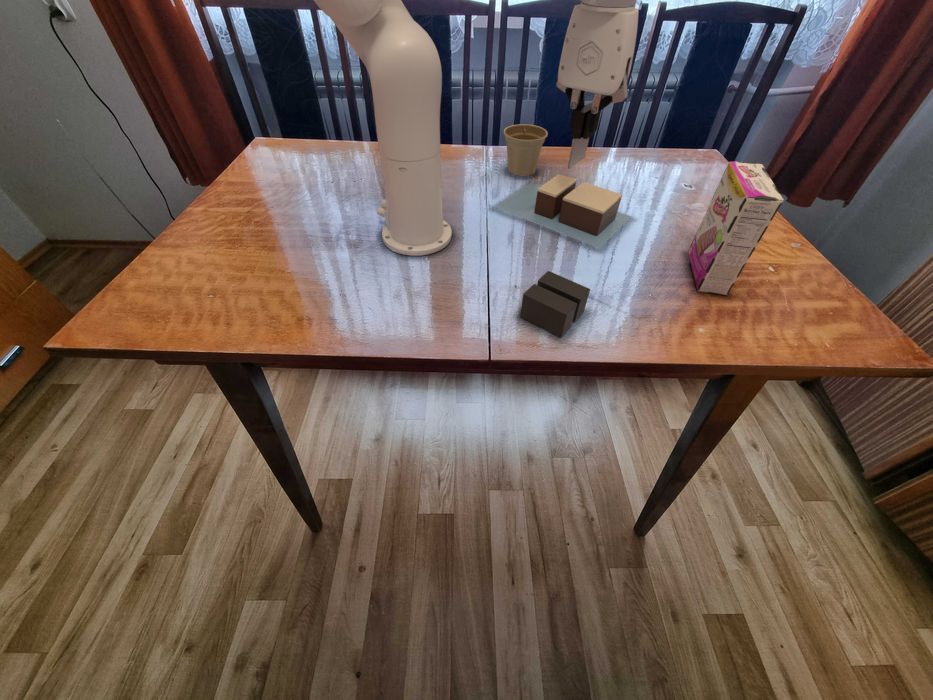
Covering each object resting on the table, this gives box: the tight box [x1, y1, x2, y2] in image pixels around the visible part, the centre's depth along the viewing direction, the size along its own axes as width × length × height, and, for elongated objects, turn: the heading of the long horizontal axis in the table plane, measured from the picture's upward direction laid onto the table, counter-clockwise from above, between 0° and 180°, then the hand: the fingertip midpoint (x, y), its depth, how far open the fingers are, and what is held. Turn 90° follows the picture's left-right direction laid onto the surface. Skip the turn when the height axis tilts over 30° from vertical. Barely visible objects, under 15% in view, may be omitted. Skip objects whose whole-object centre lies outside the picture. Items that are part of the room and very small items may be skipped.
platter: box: [493, 181, 632, 249], centre depth 83 cm, size 23×14×1 cm, turn 52°
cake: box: [559, 181, 623, 236], centre depth 78 cm, size 8×8×5 cm
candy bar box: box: [687, 161, 785, 296], centre depth 64 cm, size 11×5×16 cm, turn 168°
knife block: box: [519, 270, 591, 339], centre depth 61 cm, size 7×7×4 cm
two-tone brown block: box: [534, 173, 578, 220], centre depth 81 cm, size 4×8×5 cm, turn 142°
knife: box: [567, 102, 592, 170], centre depth 72 cm, size 6×2×9 cm, turn 142°
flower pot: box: [503, 123, 549, 177], centre depth 92 cm, size 9×9×9 cm
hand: (582, 134), depth 71 cm, fingers closed on knife, 1 cm apart
